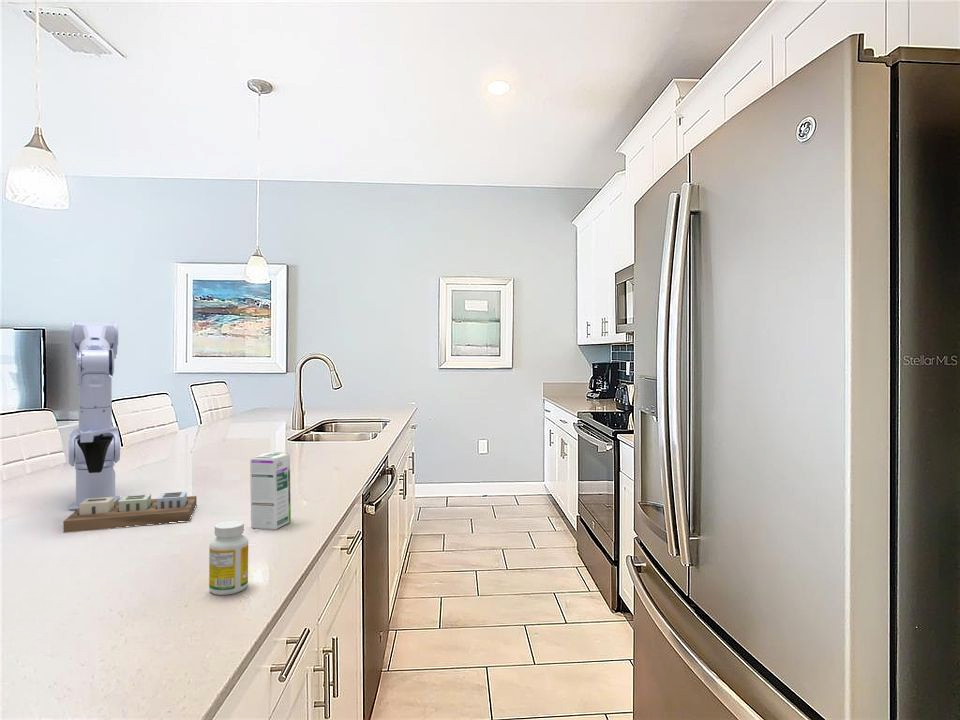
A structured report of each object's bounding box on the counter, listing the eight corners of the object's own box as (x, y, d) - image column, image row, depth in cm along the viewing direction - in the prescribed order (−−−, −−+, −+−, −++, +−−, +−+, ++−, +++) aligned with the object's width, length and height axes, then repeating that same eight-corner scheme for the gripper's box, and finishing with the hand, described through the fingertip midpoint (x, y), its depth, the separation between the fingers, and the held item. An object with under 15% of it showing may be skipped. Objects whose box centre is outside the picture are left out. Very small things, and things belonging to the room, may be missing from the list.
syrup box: (276, 530, 116) (276, 457, 116) (249, 528, 117) (249, 456, 117) (291, 522, 121) (291, 452, 121) (265, 520, 123) (265, 451, 123)
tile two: (124, 512, 126) (124, 495, 126) (151, 510, 127) (151, 493, 127) (118, 518, 121) (118, 500, 121) (146, 516, 122) (146, 498, 122)
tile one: (86, 515, 123) (86, 497, 123) (113, 512, 125) (113, 495, 125) (79, 521, 118) (79, 503, 118) (107, 519, 120) (107, 501, 120)
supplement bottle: (219, 599, 83) (219, 531, 83) (202, 589, 87) (202, 524, 87) (255, 587, 87) (255, 523, 87) (237, 578, 91) (237, 517, 91)
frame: (84, 513, 127) (84, 503, 127) (196, 505, 134) (196, 495, 134) (63, 532, 114) (63, 521, 114) (188, 521, 121) (188, 511, 121)
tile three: (161, 509, 128) (161, 492, 128) (186, 507, 130) (186, 491, 130) (157, 515, 123) (157, 498, 123) (183, 513, 125) (183, 496, 125)
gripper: (109, 409, 117) (109, 477, 117) (124, 403, 130) (124, 464, 130) (67, 410, 114) (67, 480, 114) (87, 404, 127) (87, 466, 128)
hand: (95, 472), depth 122 cm, fingers closed
